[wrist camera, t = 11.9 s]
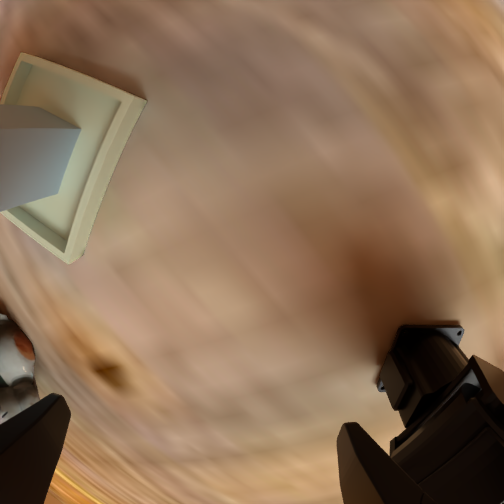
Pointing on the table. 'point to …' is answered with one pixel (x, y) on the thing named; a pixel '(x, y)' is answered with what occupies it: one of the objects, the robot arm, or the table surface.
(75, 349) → the table surface
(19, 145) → the post
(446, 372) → the robot arm
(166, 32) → the table surface
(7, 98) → the tray
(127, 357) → the table surface
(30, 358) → the lucky cat figurine
